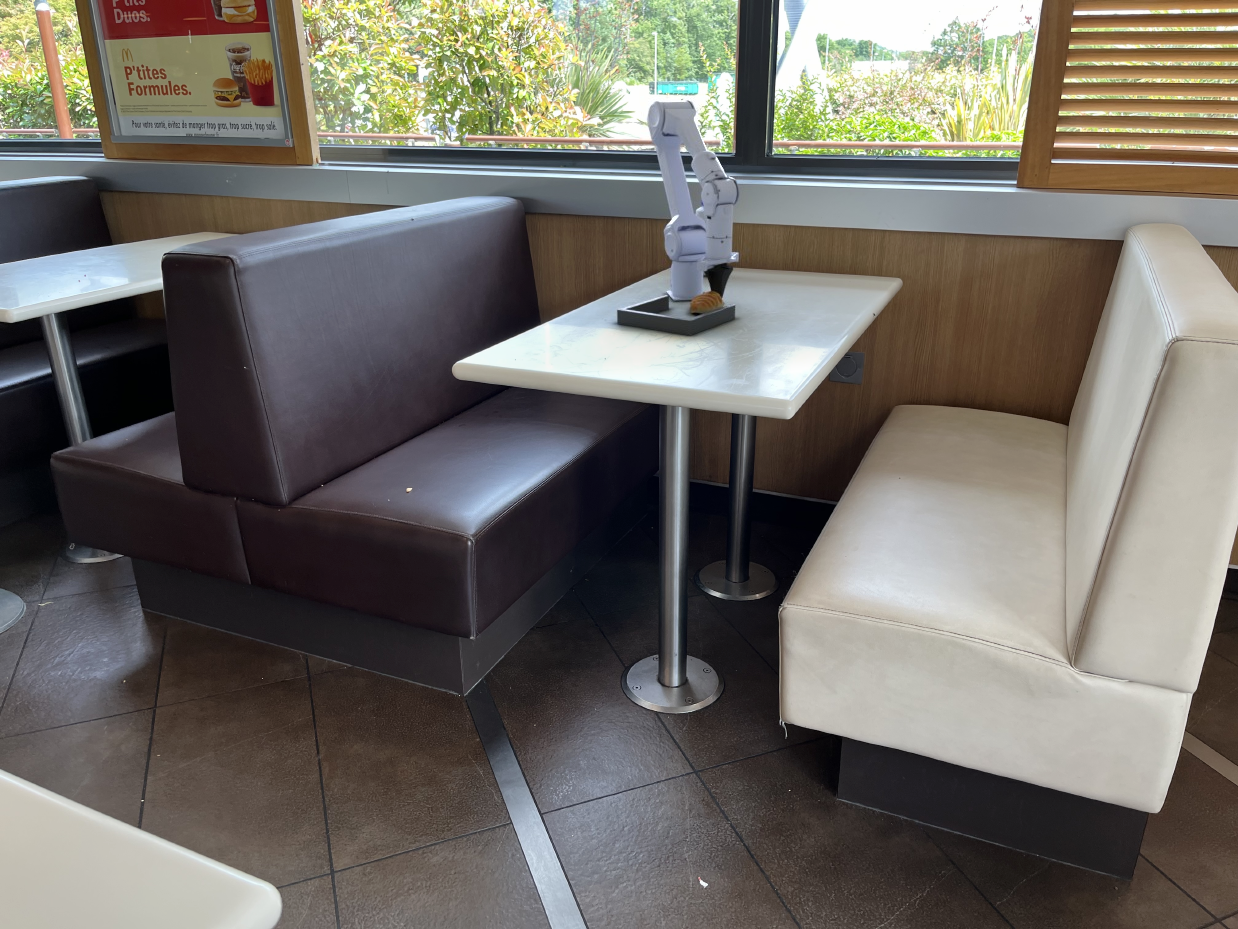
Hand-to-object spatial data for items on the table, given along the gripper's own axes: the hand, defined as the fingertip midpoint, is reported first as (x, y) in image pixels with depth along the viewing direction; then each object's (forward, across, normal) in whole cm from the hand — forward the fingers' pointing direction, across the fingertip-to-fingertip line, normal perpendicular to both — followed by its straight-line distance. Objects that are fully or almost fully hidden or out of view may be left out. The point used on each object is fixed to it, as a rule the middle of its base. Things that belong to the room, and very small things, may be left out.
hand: (717, 298), depth 200 cm
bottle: (+2, +33, +23) cm, 40 cm away
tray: (+2, -16, 0) cm, 16 cm away
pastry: (+2, -5, 0) cm, 5 cm away
